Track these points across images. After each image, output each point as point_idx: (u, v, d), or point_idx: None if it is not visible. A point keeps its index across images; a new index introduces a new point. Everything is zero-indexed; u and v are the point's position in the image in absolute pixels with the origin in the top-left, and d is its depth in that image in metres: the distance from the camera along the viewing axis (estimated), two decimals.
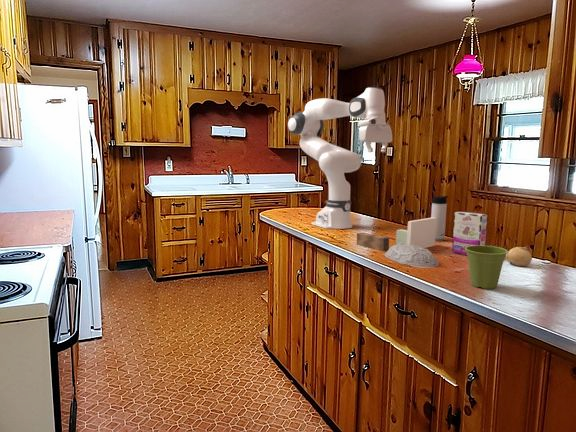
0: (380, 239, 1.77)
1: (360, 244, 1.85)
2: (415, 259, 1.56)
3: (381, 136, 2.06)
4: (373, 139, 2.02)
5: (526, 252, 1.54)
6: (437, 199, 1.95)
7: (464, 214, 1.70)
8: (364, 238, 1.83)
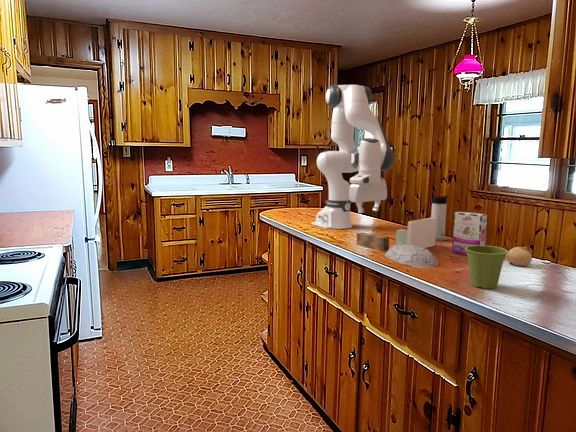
0: (380, 239, 1.77)
1: (360, 244, 1.85)
2: (414, 259, 1.56)
3: (374, 195, 1.81)
4: (365, 199, 1.78)
5: (526, 252, 1.54)
6: (437, 199, 1.95)
7: (464, 214, 1.70)
8: (364, 238, 1.83)
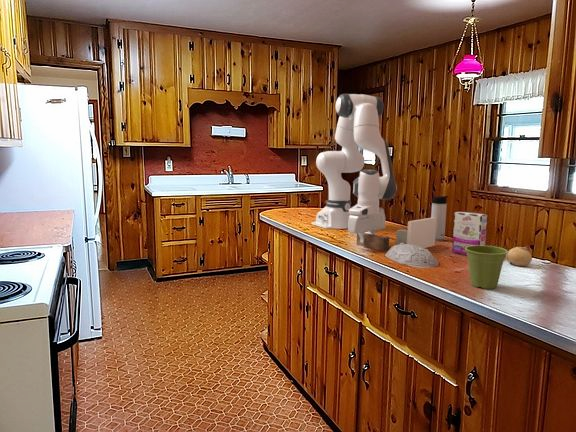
0: (380, 239, 1.77)
1: (360, 244, 1.85)
2: (413, 259, 1.56)
3: (373, 225, 1.84)
4: (363, 230, 1.80)
5: (526, 252, 1.54)
6: (437, 199, 1.95)
7: (464, 214, 1.70)
8: None
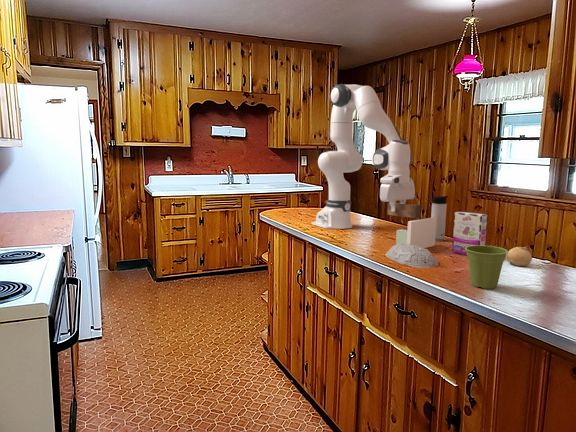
0: (412, 206, 1.82)
1: (391, 213, 1.90)
2: (413, 259, 1.56)
3: (403, 194, 1.88)
4: (395, 199, 1.85)
5: (526, 252, 1.54)
6: (437, 199, 1.95)
7: (464, 214, 1.70)
8: None
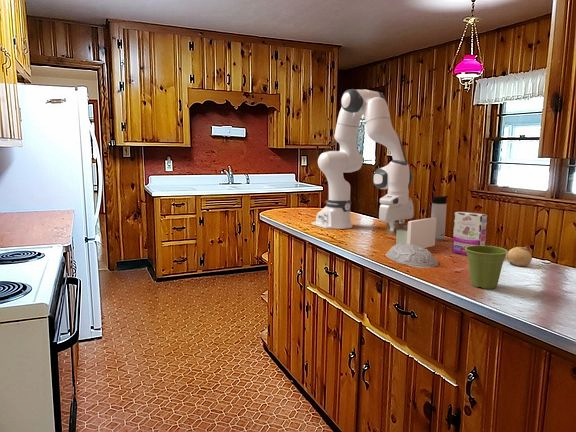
0: None
1: (390, 233, 1.92)
2: (413, 259, 1.56)
3: (402, 214, 1.90)
4: (394, 219, 1.86)
5: (526, 252, 1.54)
6: (437, 199, 1.95)
7: (464, 214, 1.70)
8: (394, 226, 1.89)
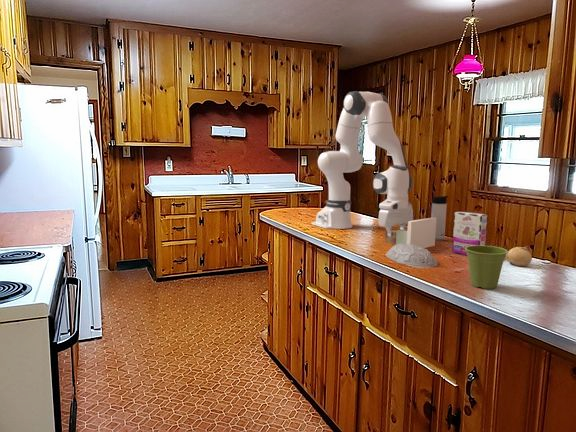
0: None
1: (389, 241, 1.92)
2: (412, 259, 1.56)
3: (402, 219, 1.90)
4: (393, 224, 1.87)
5: (526, 252, 1.54)
6: (437, 199, 1.95)
7: (464, 214, 1.70)
8: (393, 235, 1.90)
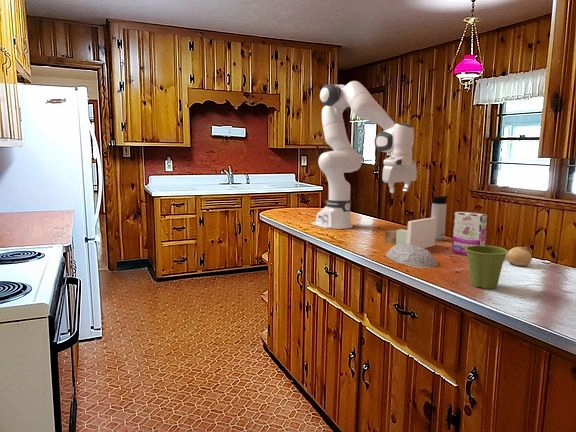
0: None
1: (389, 241, 1.92)
2: (411, 259, 1.56)
3: (405, 176, 1.94)
4: (397, 180, 1.91)
5: (526, 252, 1.54)
6: (437, 199, 1.95)
7: (464, 214, 1.70)
8: (393, 235, 1.90)
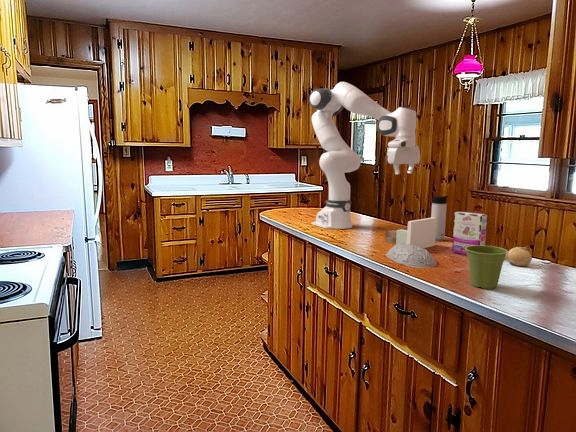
0: None
1: (389, 241, 1.92)
2: (410, 259, 1.56)
3: (409, 158, 2.01)
4: (401, 162, 1.97)
5: (526, 252, 1.54)
6: (437, 199, 1.95)
7: (464, 214, 1.70)
8: (393, 235, 1.90)
